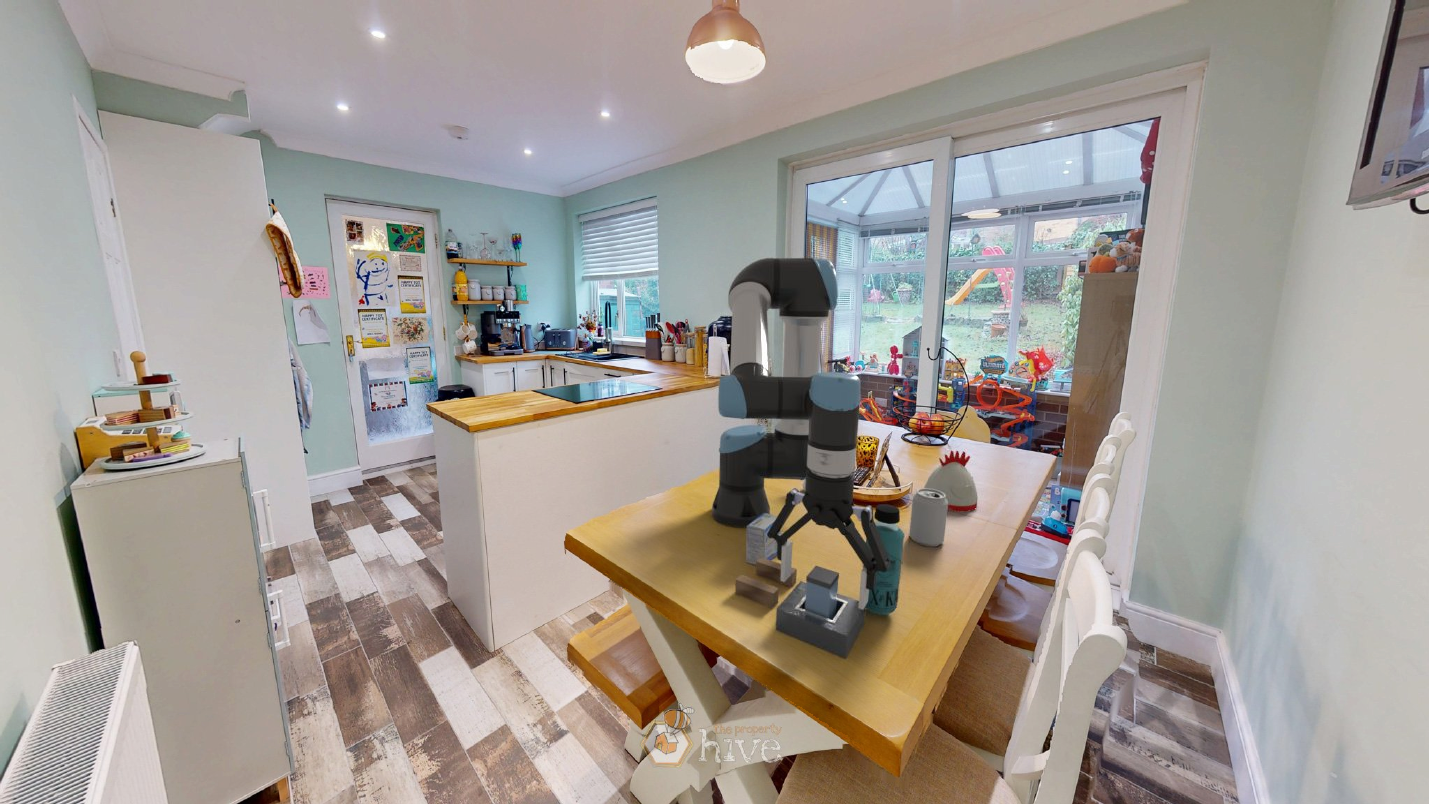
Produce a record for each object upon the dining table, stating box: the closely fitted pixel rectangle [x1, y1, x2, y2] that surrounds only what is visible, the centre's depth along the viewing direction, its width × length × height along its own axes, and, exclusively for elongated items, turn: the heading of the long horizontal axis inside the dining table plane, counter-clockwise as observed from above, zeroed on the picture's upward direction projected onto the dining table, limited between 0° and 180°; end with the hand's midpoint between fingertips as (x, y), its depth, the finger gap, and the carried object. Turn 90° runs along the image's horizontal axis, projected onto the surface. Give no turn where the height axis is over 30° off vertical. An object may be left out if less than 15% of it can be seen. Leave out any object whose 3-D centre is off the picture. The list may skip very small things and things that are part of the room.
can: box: [908, 488, 948, 547], centre depth 112 cm, size 8×8×12 cm
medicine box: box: [745, 513, 778, 566], centre depth 103 cm, size 8×4×9 cm, turn 148°
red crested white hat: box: [924, 450, 979, 512], centre depth 134 cm, size 14×14×15 cm
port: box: [775, 580, 867, 659], centre depth 81 cm, size 12×10×4 cm
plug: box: [805, 565, 840, 620], centre depth 80 cm, size 4×4×10 cm
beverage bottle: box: [861, 503, 905, 615], centre depth 84 cm, size 6×7×20 cm
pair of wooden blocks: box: [734, 557, 798, 609], centre depth 92 cm, size 8×10×3 cm
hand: (822, 590), depth 80 cm, fingers open, 13 cm apart
